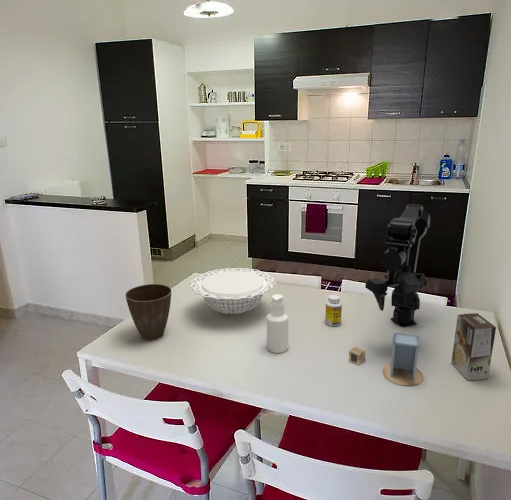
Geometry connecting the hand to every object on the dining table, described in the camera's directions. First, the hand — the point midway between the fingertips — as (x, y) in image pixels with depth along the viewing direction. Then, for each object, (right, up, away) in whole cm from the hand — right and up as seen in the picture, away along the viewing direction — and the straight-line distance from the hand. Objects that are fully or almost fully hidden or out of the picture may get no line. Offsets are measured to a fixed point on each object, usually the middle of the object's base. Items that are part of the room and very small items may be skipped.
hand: (394, 308), depth 132 cm
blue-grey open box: (-2, -17, -12) cm, 21 cm away
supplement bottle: (-16, -8, +19) cm, 26 cm away
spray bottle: (-36, -13, +3) cm, 39 cm away
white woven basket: (-52, -6, +29) cm, 59 cm away
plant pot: (-79, -11, +13) cm, 81 cm away
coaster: (-2, -17, -12) cm, 21 cm away
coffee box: (+18, -17, -11) cm, 27 cm away
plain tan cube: (-13, -15, -4) cm, 20 cm away
